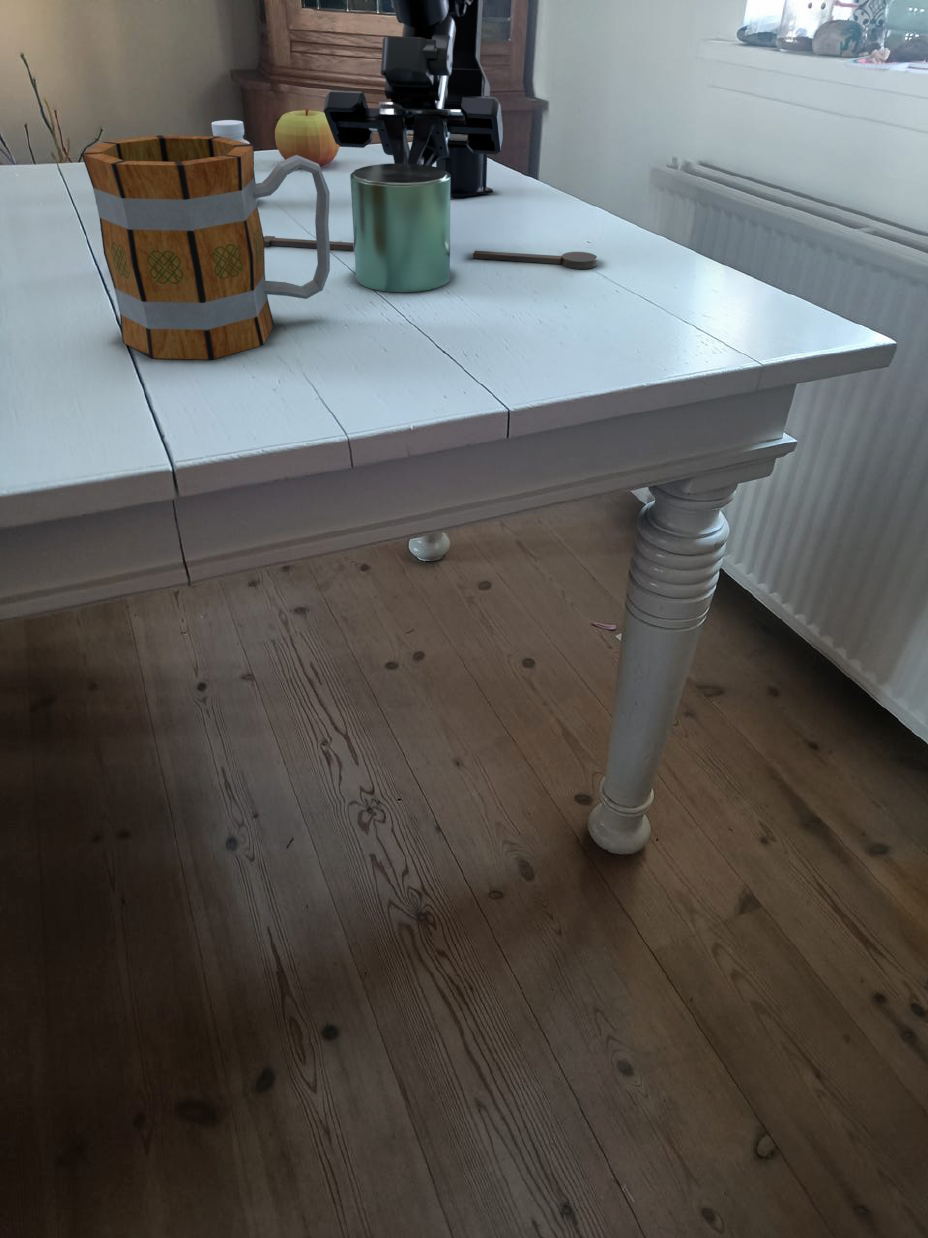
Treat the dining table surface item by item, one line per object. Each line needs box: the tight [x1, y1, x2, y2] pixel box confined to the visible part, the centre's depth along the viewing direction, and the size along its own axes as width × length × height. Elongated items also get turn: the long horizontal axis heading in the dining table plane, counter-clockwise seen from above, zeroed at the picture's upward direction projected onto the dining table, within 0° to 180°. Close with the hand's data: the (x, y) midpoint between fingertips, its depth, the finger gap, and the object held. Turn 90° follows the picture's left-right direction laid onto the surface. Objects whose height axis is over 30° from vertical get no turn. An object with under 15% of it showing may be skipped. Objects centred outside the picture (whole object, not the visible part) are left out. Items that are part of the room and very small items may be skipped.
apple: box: [274, 108, 341, 168], centre depth 139 cm, size 10×10×8 cm
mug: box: [81, 134, 331, 360], centre depth 78 cm, size 20×14×15 cm
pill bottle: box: [211, 119, 259, 202], centre depth 117 cm, size 5×5×10 cm
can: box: [349, 162, 451, 293], centre depth 92 cm, size 10×10×10 cm
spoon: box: [472, 249, 599, 270], centre depth 101 cm, size 14×4×1 cm, turn 80°
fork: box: [264, 235, 355, 252], centre depth 104 cm, size 15×2×1 cm, turn 80°
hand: (403, 193), depth 95 cm, fingers closed
